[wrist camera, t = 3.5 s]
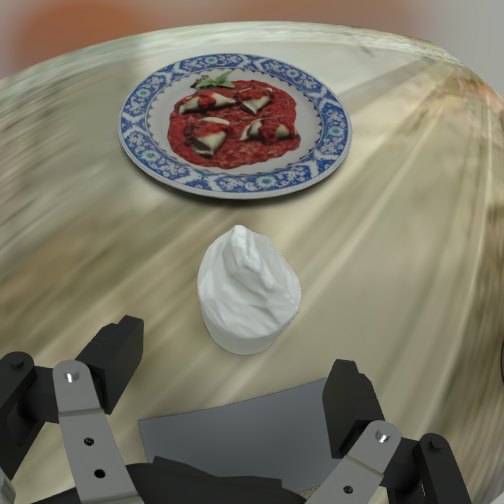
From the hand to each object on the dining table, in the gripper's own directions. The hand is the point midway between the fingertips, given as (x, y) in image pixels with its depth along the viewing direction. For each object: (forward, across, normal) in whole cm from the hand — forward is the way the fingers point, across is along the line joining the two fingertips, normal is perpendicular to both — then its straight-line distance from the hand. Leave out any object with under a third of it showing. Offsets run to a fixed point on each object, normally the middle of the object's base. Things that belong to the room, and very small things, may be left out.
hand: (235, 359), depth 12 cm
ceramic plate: (+26, +5, -11) cm, 29 cm away
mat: (+3, -2, +11) cm, 12 cm away
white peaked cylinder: (+11, 0, +4) cm, 11 cm away
